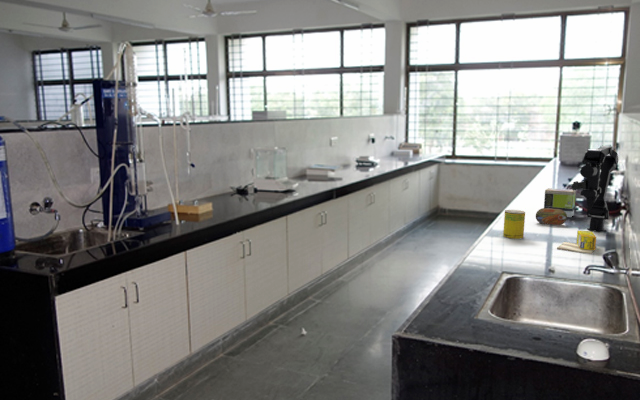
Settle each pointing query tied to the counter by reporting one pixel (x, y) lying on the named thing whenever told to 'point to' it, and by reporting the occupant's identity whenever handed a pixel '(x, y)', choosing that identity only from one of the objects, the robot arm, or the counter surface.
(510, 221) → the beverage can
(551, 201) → the tea box
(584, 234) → the supplement box
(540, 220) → the tin
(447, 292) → the counter surface
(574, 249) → the birch board
